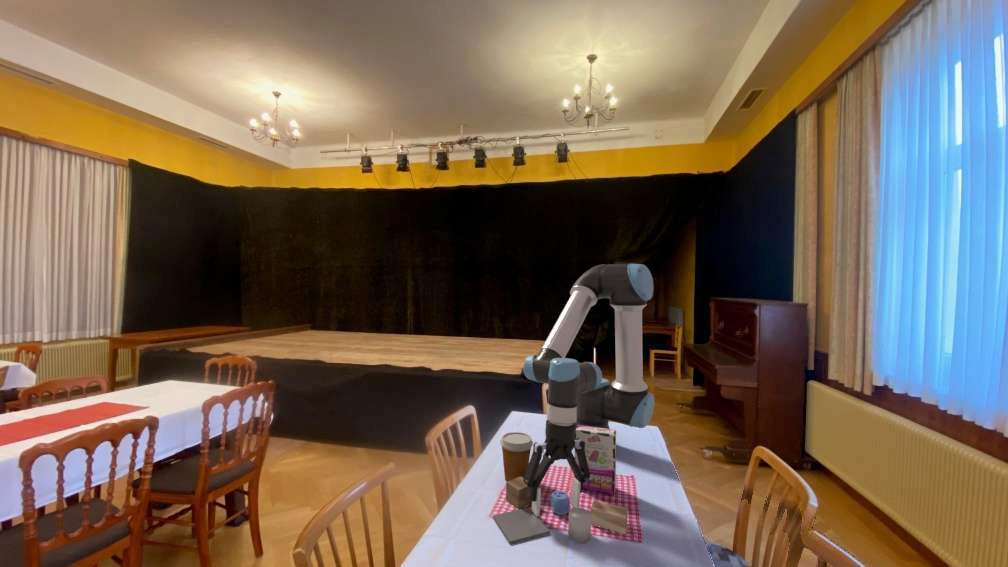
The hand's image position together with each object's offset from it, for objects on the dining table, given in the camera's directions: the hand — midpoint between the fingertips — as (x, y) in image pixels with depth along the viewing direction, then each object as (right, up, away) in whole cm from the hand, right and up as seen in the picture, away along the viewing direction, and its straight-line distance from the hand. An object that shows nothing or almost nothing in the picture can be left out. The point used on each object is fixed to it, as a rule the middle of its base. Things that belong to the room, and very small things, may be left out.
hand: (555, 509), depth 95 cm
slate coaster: (-9, 0, -6) cm, 11 cm away
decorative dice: (+1, -1, +1) cm, 2 cm away
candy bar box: (+13, -1, +12) cm, 17 cm away
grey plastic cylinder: (+4, -1, -9) cm, 10 cm away
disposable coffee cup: (-10, -1, +16) cm, 18 cm away
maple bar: (+12, -1, -4) cm, 13 cm away
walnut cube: (-9, 0, +4) cm, 10 cm away
